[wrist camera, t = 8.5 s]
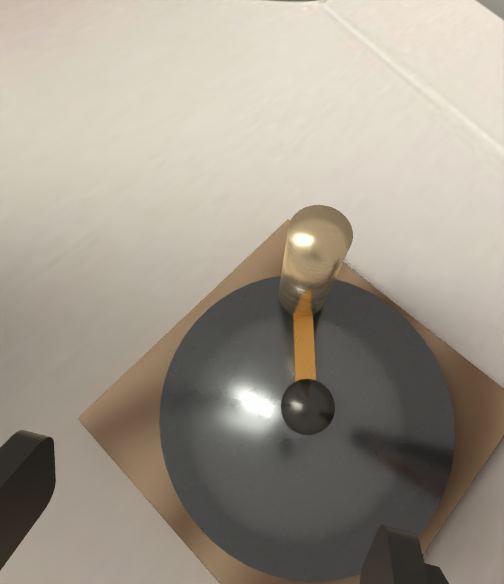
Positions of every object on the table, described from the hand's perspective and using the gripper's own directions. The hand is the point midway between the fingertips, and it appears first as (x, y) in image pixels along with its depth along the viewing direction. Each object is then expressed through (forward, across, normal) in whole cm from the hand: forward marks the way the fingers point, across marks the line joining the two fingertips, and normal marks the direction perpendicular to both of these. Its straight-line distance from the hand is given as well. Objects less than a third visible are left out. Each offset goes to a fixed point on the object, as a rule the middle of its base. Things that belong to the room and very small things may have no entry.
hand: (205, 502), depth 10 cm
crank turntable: (+14, -3, +8) cm, 17 cm away
